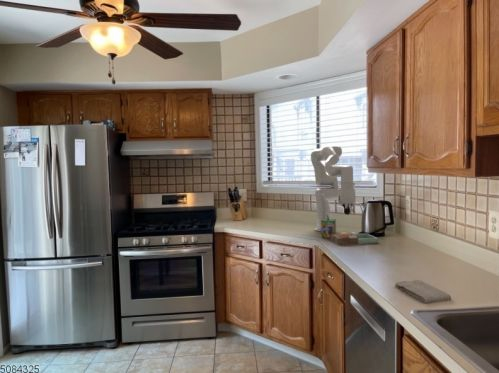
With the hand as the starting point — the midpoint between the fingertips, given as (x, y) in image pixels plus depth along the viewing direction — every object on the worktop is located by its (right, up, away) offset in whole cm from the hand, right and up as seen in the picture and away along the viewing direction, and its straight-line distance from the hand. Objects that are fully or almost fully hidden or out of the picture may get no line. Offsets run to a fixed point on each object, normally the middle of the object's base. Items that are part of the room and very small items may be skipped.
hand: (347, 214), depth 217 cm
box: (+10, -17, +1) cm, 20 cm away
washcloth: (+4, -24, -86) cm, 89 cm away
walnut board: (-2, -17, -1) cm, 18 cm away
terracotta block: (-3, -14, -4) cm, 15 cm away
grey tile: (+3, -14, +2) cm, 15 cm away
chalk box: (-8, -17, +16) cm, 25 cm away
